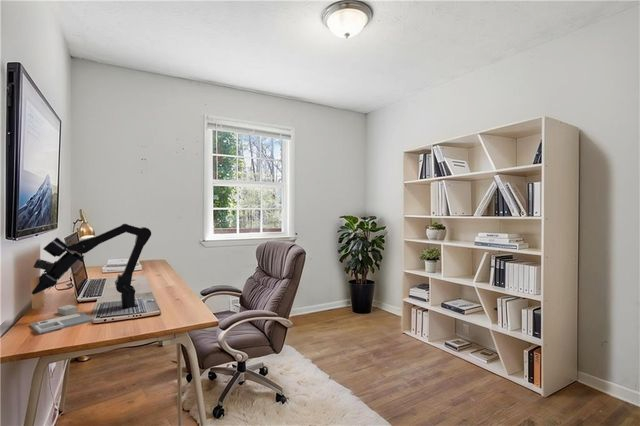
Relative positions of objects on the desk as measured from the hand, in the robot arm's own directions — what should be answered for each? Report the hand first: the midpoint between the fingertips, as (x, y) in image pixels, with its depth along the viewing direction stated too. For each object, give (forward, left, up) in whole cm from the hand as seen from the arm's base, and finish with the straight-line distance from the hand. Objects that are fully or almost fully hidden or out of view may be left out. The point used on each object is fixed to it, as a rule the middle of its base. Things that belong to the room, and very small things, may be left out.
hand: (33, 292), depth 143 cm
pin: (0, -1, -7) cm, 7 cm away
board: (-12, -7, -12) cm, 19 cm away
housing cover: (+3, -12, -12) cm, 18 cm away
